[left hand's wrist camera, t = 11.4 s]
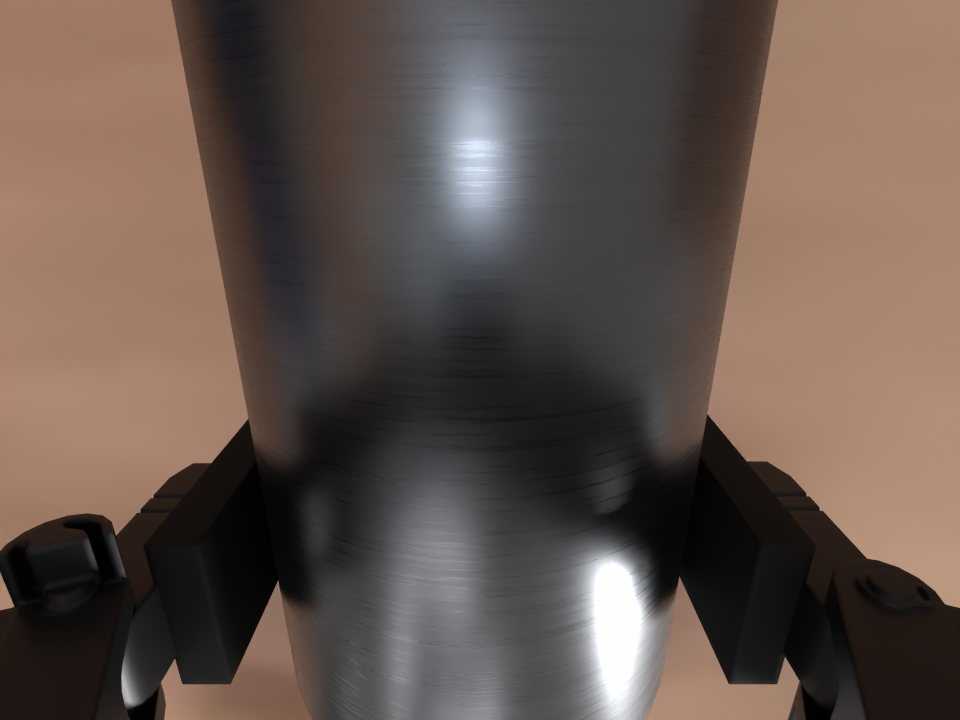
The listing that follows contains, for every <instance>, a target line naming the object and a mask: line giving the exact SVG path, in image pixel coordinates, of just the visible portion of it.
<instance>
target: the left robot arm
mask: <svg viewBox="0 0 960 720" xmlns="http://www.w3.org/2000/svg"><path fill="white" fill-rule="evenodd" d="M0 572H1V575H2V577H3V580H4V582H5V584H6V587H7V589H8V592H9V594H10V596H11V599H12V601H13V604H14V607H13V608H9V609H5V610H0V720H164V715H165V706H166V703H165V697H164V691H163V688H162V685H161V681H162V679H163V678H164V676H165V674H166V673H167V671H168V669H169V668H170V666H171V664H172V662H173V661H174V659H176V663H177V666H178V670H179V673H180V677H181V680H182V684H231V682H232V680H233V678H234V676H235V673H236V671H237V669H238V667H239V665H240V662H241V660H242V658H243V656H244V654H245V652H246V649H247V647H248V645H249V643H250V641H251V638H252V636H253V634H254V632H255V630H256V628H257V625H258V623H259V621H260V619H261V617H262V614H263V612H264V610H265V608H266V606H267V604H268V601H269V599H270V597H271V595H272V593H273V590H274V588H275V586H276V584H277V582H278V575H277V570H276V564H275V559H274V554H273V548H272V543H271V537H270V532H269V526H268V521H267V516H266V510H265V505H264V499H263V494H262V489H261V483H260V478H259V472H258V467H257V461H256V456H255V451H254V445H253V440H252V434H251V429H250V423H249V419H248V420H247V421H246V422H245V424H244V425H243V426H242V427H241V428H240V430H239V431H238V432H237V433H236V434H235V436H234V437H233V438H232V439H231V440H230V442H229V443H228V444H227V445H226V446H225V448H224V449H223V450H222V451H221V452H220V454H219V455H218V456H217V457H216V459H215V460H214V461H213V462H212V463H193V464H191V465H190V466H188V467H187V468H185V469H183V470H182V471H180V472H178V473H177V474H175V475H174V476H172V477H170V478H169V479H168V480H167V481H166V482H165V483H164V485H163V486H162V487H161V488H160V489H159V490H158V491H157V492H156V493H155V494H154V498H153V499H150V500H149V501H148V502H147V503H146V504H145V505H144V506H143V507H142V508H141V512H140V513H137V514H136V515H135V516H134V517H133V518H132V519H131V520H130V522H129V523H128V524H127V525H126V526H125V527H124V528H123V529H122V530H121V531H120V532H119V533H118V535H117V536H116V535H115V531H114V528H113V525H112V522H111V521H110V520H108V519H107V518H106V517H104V516H103V515H95V514H88V513H87V514H79V515H70V516H65V517H62V518H59V519H55V520H52V521H48V522H45V523H43V524H41V525H39V526H37V527H34V528H32V529H30V530H28V531H26V532H24V533H22V534H21V535H20V536H18V537H17V538H15V539H14V540H12V541H11V542H9V543H8V544H6V545H5V547H4V548H3V549H2V550H1V551H0ZM679 576H680V578H681V580H682V583H683V585H684V587H685V589H686V591H687V593H688V596H689V598H690V600H691V602H692V604H693V607H694V609H695V611H696V613H697V615H698V617H699V620H700V622H701V624H702V626H703V628H704V631H705V633H706V635H707V637H708V639H709V641H710V644H711V646H712V648H713V650H714V652H715V655H716V657H717V659H718V661H719V663H720V665H721V668H722V670H723V672H724V674H725V676H726V679H727V681H728V683H729V684H777V682H778V679H779V675H780V672H781V668H782V665H783V661H784V658H785V657H786V659H787V660H788V662H789V664H790V665H791V667H792V669H793V670H794V672H795V674H796V675H797V677H798V679H799V681H800V682H799V685H798V688H797V691H796V695H795V698H794V701H793V705H792V708H791V711H790V714H789V718H788V720H960V608H957V607H953V606H949V605H945V604H944V603H943V601H942V600H941V599H940V597H939V596H938V594H937V593H936V592H935V591H934V590H933V589H932V588H930V587H929V586H928V585H927V584H925V583H924V582H923V581H922V580H920V579H919V578H917V577H916V576H914V575H912V574H910V573H908V572H906V571H904V570H902V569H900V568H899V567H896V566H893V565H890V564H887V563H884V562H881V561H878V560H871V559H867V558H866V557H865V556H864V555H863V554H862V553H861V552H860V551H859V550H858V548H857V547H856V546H855V545H854V544H853V543H852V542H851V541H850V540H849V539H848V538H847V537H846V536H845V534H844V533H843V532H842V531H841V530H840V529H839V528H838V527H837V526H836V525H835V524H834V523H833V522H832V520H831V519H830V518H829V517H828V516H827V515H826V514H825V513H824V512H823V511H820V510H819V506H818V505H817V504H816V503H815V502H814V501H813V500H812V499H811V498H810V497H807V496H806V492H805V491H804V490H803V489H802V488H801V487H800V486H799V485H798V484H797V483H796V482H795V481H794V479H793V478H792V477H791V476H789V475H788V474H786V473H785V472H783V471H781V470H780V469H778V468H776V467H775V466H773V465H771V464H770V463H768V462H747V461H746V460H745V459H744V458H743V457H742V455H741V454H740V453H739V452H738V451H737V449H736V448H735V447H734V446H733V445H732V443H731V442H730V441H729V440H728V439H727V437H726V436H725V435H724V434H723V433H722V431H721V430H720V429H719V428H718V427H717V425H716V424H715V423H714V422H713V421H712V419H711V418H710V417H709V416H708V415H707V417H706V423H705V429H704V435H703V441H702V446H701V452H700V458H699V464H698V470H697V476H696V481H695V487H694V493H693V499H692V505H691V511H690V517H689V522H688V528H687V534H686V540H685V546H684V552H683V557H682V563H681V569H680V575H679Z"/></svg>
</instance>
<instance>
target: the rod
mask: <svg viewBox="0 0 960 720" xmlns="http://www.w3.org/2000/svg"><path fill="white" fill-rule="evenodd" d="M171 1H172V6H173V12H174V17H175V22H176V28H177V33H178V39H179V44H180V50H181V55H182V60H183V66H184V71H185V77H186V82H187V88H188V93H189V98H190V104H191V109H192V115H193V120H194V125H195V131H196V136H197V142H198V147H199V153H200V158H201V163H202V169H203V174H204V180H205V185H206V190H207V196H208V201H209V207H210V212H211V218H212V223H213V228H214V234H215V239H216V245H217V250H218V255H219V261H220V266H221V272H222V277H223V283H224V288H225V293H226V299H227V304H228V310H229V315H230V321H231V326H232V331H233V337H234V342H235V348H236V353H237V358H238V364H239V369H240V375H241V380H242V386H243V391H244V396H245V402H246V407H247V413H248V418H249V423H250V429H251V434H252V440H253V445H254V451H255V456H256V461H257V467H258V472H259V478H260V483H261V489H262V494H263V499H264V505H265V510H266V516H267V521H268V526H269V532H270V537H271V543H272V548H273V554H274V559H275V564H276V570H277V575H278V581H279V586H280V591H281V597H282V602H283V608H284V613H285V619H286V624H287V629H288V635H289V640H290V646H291V651H292V657H293V662H294V667H295V672H296V677H297V682H298V687H299V690H300V692H301V695H302V697H303V700H304V702H305V705H306V708H307V710H308V711H309V713H310V715H311V716H312V718H313V720H644V719H645V717H646V715H647V714H648V712H649V710H650V709H651V707H652V704H653V702H654V699H655V697H656V694H657V692H658V689H659V687H660V682H661V677H662V673H663V668H664V663H665V657H666V651H667V645H668V639H669V633H670V628H671V622H672V616H673V610H674V604H675V598H676V592H677V587H678V581H679V575H680V569H681V563H682V557H683V552H684V546H685V540H686V534H687V528H688V522H689V517H690V511H691V505H692V499H693V493H694V487H695V481H696V476H697V470H698V464H699V458H700V452H701V446H702V441H703V435H704V429H705V423H706V417H707V411H708V406H709V400H710V394H711V388H712V382H713V376H714V371H715V365H716V359H717V353H718V347H719V341H720V335H721V330H722V324H723V318H724V312H725V306H726V300H727V295H728V289H729V283H730V277H731V271H732V265H733V260H734V254H735V248H736V242H737V236H738V230H739V225H740V219H741V213H742V207H743V201H744V195H745V189H746V184H747V178H748V172H749V166H750V160H751V154H752V149H753V143H754V137H755V131H756V125H757V119H758V114H759V108H760V102H761V96H762V90H763V84H764V78H765V73H766V67H767V61H768V55H769V49H770V43H771V38H772V32H773V26H774V20H775V14H776V8H777V3H778V0H171Z"/></svg>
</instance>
